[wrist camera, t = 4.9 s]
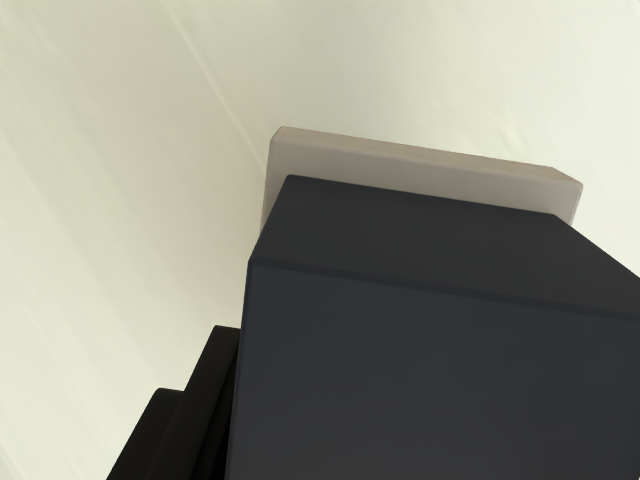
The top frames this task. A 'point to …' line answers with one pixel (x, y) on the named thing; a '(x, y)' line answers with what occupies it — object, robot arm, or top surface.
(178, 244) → the top surface
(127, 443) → the robot arm
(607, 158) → the top surface
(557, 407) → the stepped dark grey block
